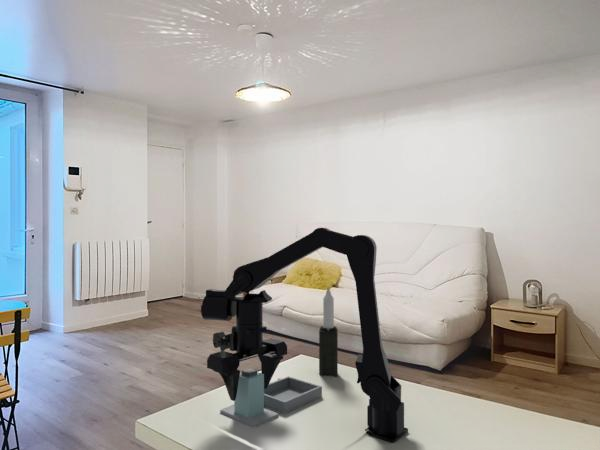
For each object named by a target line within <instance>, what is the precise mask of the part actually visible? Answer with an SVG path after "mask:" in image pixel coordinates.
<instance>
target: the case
mask: <svg viewBox="0 0 600 450" xmlns="http://www.w3.org/2000/svg"><path fill="white" fill-rule="evenodd" d="M322 391H323V386H321V385H318V384H315V383H311V382H308V381H305V380H302V379H299V378H295V377H293V376H286V377H283V378H282V377H278V378H277V380H274V381H272V382H270V383H269V385H268V387H267V388H266V389H264V407H267V408H269V409H271V410H274V411H277V412H278V413H279V412H280V413H281V414H287V413H290V412H292V411H294V410H297V409H298V408H301V407H302V406H305V405H307V404H309V403H312V402H314V401H315V400H318V399H320V398H322V397H323V392H322ZM299 394H300V395H299ZM292 397H293V398H292ZM285 400H286V401H285Z"/></svg>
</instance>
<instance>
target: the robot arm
mask: <svg viewBox="0 0 600 450" xmlns="http://www.w3.org/2000/svg"><path fill="white" fill-rule="evenodd" d="M323 248H325V249H328V250H330V251H332V252H337V253H339V254H342V255H345V256H346V257H347V261H348V265H349V267H350V270H351V273H352V275H353V279H354V281H355V288H356V298H357V306H358V315H359V317H358V318H359V325H360V333H361V341H362V353H361V354H358V355H357V357H356V359H355V369H356V372H357V380H356V384H359V383H360V388H361V391H362V392H363V393H364V394H365V395H366V396H368V397H369V399H368V405H367V407H366V408H367V416H366V417H367V419H366V420H367V423H366V425H367V428H365V429H364V431H365V434H368V435H371V436H373V437H376V438H379V439H382V440H385V441H387V442H390V443H394V442H396V441H398V440H399V439H401V437H403V436H404V435H406V434H407V433H409V428H407V427H405V402H403V401H402V384H400V383H399V381H398V380H397V379H396V378H395V377H394V376H393V375H392V372H391V366H390V364H389V361H388V357H387V354H386V352H385V349H384V347H383V341H382V334H381V325H380V317H379V308H378V301H377V300H378V299H377V292H376V282H375V274H376V273H375V272H376V265H377V244H376V241H375V240H374V239H373V238H372V237H370V236H369V235H366V234H365V235H364V234H357V235H354V236H353V235H348V234H344V233H341V232H338V231H334V230H331V229H330V228H327V227H317V228H315V229H314V230H313V231H312V232H310V233H309V234H307V235H305V236H303V237H301V238H299V239H297V240H296V241H294V242H292V243H291V244H288V245H287V246H286V247H284V248H282V249H280V250H278V251H277V252H275V253H272V254H271V255H270V256H268V257H265V258H262V259H258V260H255V261H252V262H249V263H247V264H243V265H240V266H238V267H237V268H236V269H234V271H233V276H232V281H231V282H230V284H229V285H228V286H227V287H226V289H224V290H222V289H221V290H220V289H215V288H209V289H206V290H205V296H204V297H203V300H202V303H201V306H200V313H201V317H202V319H203V320H204V321H206V320H207V321H222V322H223V321H225V322H230V321H232V319H233V318H234V317H235V318H236V319H235V320H236V321H235V322H236V323H235V325H233V326H232V327H231V333H225V332H224V331H218V332H214V333H213V335H212V344H213V348H215V349H218V348H220V351H218V352H213V353H210V354H209V355H208V356H207V359H206V368H207V369H210V370H212V371H213V372H215V373H218V374H219V375H220V377H221V378H222V380H223V382H224V386H225V388H226V391H227V393H228V397H229V399H230V400H231V401H233V402H234V401H235V399H236V395H237V389H238V383H239V376H240V373H241V370H239V369H238V368H239V367H240V362H242V361H247V360H250V359H254V358H257V357H258V359H259V361H260V365H261V366H260V369H261V371H260V373H262V374H264V389H266V388H267V387H268V385H269V383H271V380H272V378H273V376H274V374H275V371H276V370H277V368H278V366H279V364H280V362H281V360H284V356H286V355H288V345H287V343H286V342H285V341H283V340H280V339H274V338H268V339H264V340H263V336H264V335H263V334H264V333H265V332H267V326H264V324H263V322H264V321H263V315H264V314H263V309H264V307H263V305H264V304H263V303H265V304H266V303H269V302H271V301H272V300H273V298H272V297H271V296H270V295H269V294H268V293H267V291H266V290H265V289H263V290H261V291H260V292H259V293H253V292H252V291H254V290H258V289H260V288H262V287H263V286H264V285H265V284H267V283H268V282H269V281H270V280H271V279H273V278H274V277H275V276H276V275H277V274H278V273H279V272H280V271H283V270H284V269H285V268H288V267H289V266H291V265H293V264H295V263H296V262H299V261H300V260H302V259H304V258H306V257H307V256H309V255H311V254H313V253H314V252H316V251H318V250H320V249H323ZM249 292H252V293H249ZM244 293H245V295H244V296H240V297H239V295H241V294H244ZM225 350H229V351H231V352H228V351H225ZM233 352H234V353H233Z"/></svg>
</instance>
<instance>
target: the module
mask: <svg viewBox="0 0 600 450" xmlns="http://www.w3.org/2000/svg"><path fill="white" fill-rule="evenodd" d="M233 402H234V404H233V405H234V412H236V413H238V414H240V415H243V416H245V417H247V418H249V417H252V416H254V415H256V414H258V413H261V412H263V411H264V408H265V406H264V374H262V373H261V372H258V370H256V369H253V368H247V369H243V370H241V371H240V376H239V383H238V389H237V395H236V399H235V401H233Z"/></svg>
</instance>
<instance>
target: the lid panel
mask: <svg viewBox="0 0 600 450" xmlns="http://www.w3.org/2000/svg"><path fill="white" fill-rule="evenodd" d="M219 412H220V413H221V415H222V414H223V415H225V416H226V417H230V418H231V419H234V420H236V421H238V422H240V423H243V424H245V425H246V426H249V427H251V428H253V429H255V428H257V427H259V426H261V425H263V424H266V423H268V422H270V421H272V420H274V419H276V418H278V417H279V412H278V413H277V412H275V411H273V410H270V409H268V408H265V407H264V411H263V412H261V413H258V414H256V415H254V416H252V417H249V418H247V417H245V416H243V415H240V414H238V413H236V412H234V404H231V405H229V406H227V407H224V408H222V409H220V411H219Z"/></svg>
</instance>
